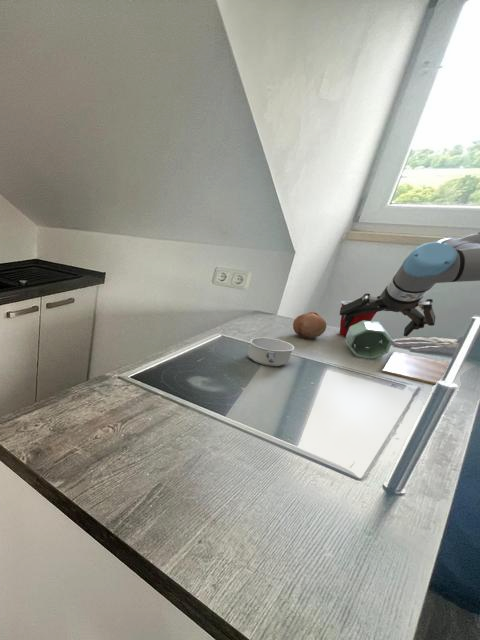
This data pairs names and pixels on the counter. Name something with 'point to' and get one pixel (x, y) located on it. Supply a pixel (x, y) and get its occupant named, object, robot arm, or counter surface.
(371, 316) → the plastic cup
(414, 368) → the wooden cutting board
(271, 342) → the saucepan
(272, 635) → the counter surface
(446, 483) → the counter surface
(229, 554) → the counter surface
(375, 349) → the tumbler
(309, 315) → the onion
